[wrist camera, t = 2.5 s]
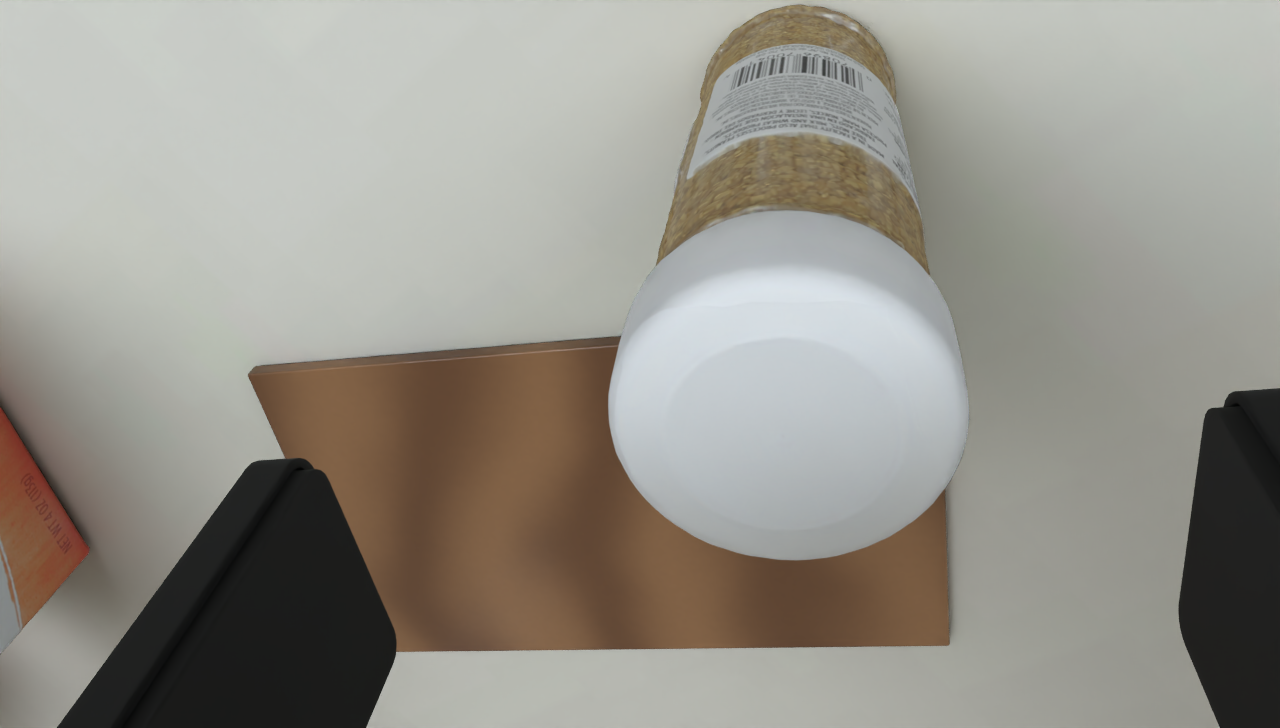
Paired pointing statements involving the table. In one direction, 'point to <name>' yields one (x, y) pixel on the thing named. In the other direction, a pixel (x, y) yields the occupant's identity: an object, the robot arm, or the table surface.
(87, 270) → the table surface
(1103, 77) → the table surface
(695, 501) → the spice jar
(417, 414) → the wooden board
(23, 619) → the cracker box
